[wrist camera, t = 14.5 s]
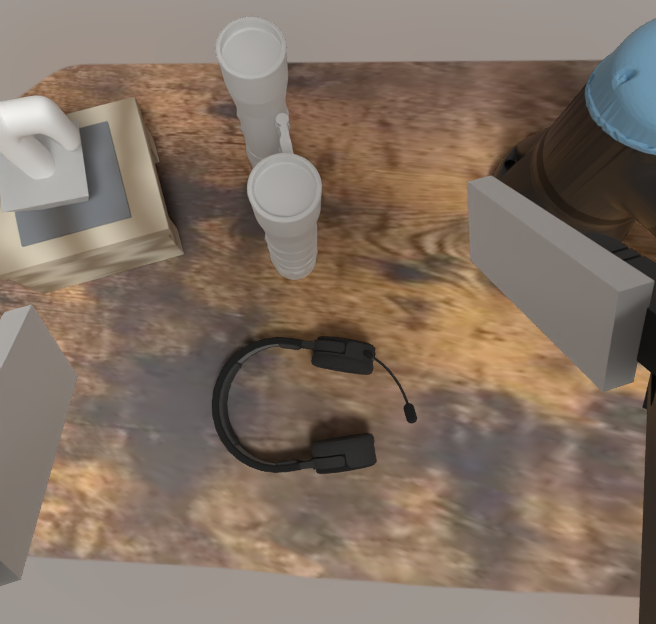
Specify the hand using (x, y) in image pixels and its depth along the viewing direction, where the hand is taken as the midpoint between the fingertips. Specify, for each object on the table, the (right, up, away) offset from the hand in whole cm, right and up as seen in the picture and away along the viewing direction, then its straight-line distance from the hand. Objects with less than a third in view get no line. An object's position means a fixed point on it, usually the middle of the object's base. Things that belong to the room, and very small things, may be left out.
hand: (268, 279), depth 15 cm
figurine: (-23, +11, +32) cm, 41 cm away
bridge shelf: (-23, +10, +40) cm, 47 cm away
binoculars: (-3, +10, +41) cm, 42 cm away
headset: (0, -10, +37) cm, 38 cm away
